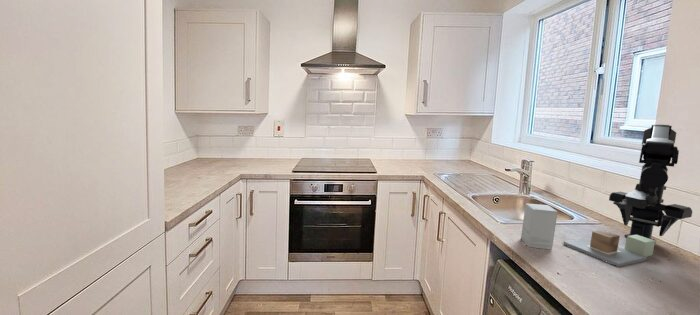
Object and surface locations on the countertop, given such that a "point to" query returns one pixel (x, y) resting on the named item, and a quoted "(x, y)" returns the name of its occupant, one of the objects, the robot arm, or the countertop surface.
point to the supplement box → (539, 226)
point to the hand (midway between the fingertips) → (642, 230)
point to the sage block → (640, 245)
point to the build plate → (614, 258)
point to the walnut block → (604, 241)
